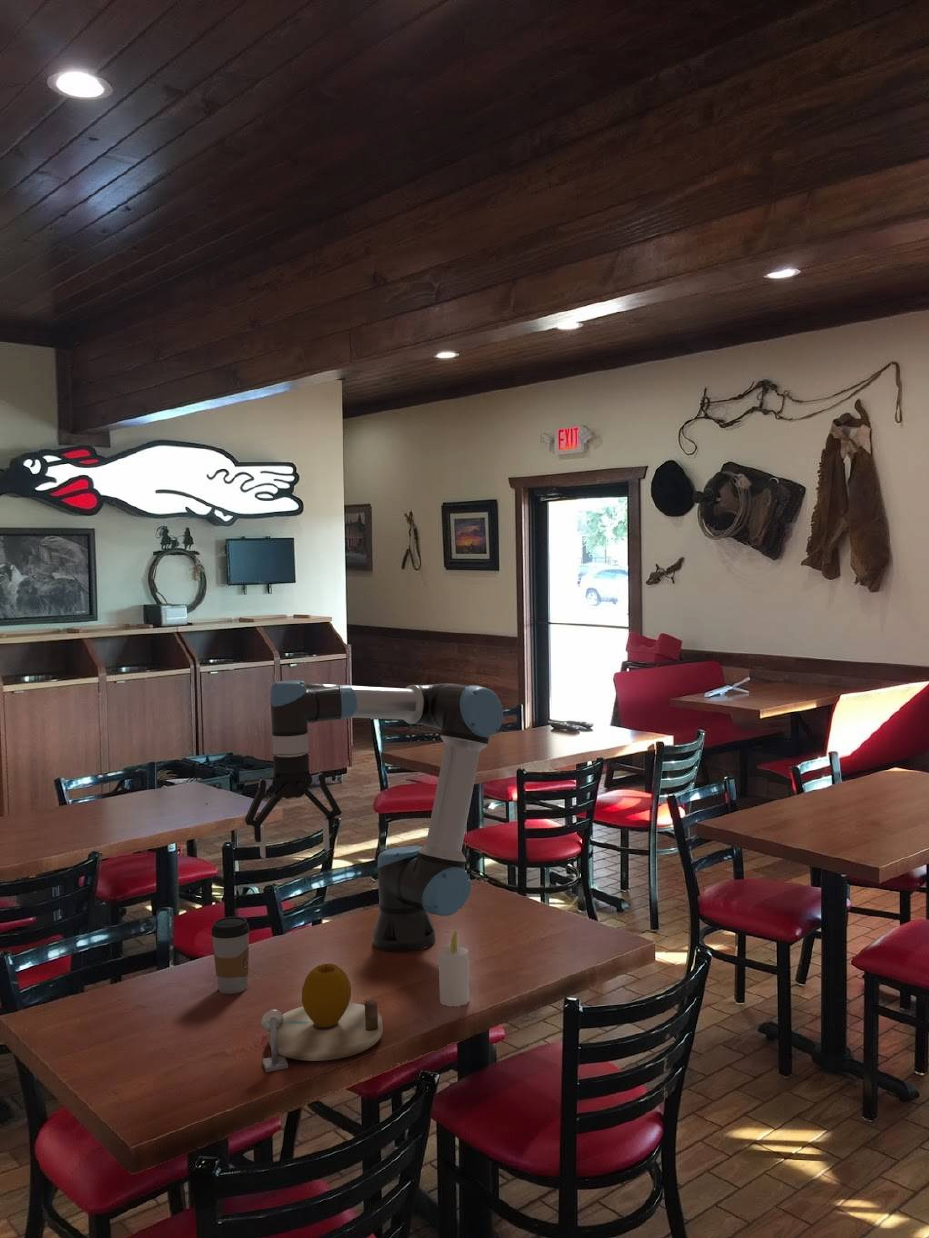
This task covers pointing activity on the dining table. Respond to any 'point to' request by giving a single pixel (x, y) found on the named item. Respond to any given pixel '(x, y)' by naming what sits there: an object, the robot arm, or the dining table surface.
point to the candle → (454, 974)
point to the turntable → (329, 1034)
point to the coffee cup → (231, 953)
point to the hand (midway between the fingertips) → (295, 852)
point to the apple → (326, 994)
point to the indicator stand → (273, 1040)
